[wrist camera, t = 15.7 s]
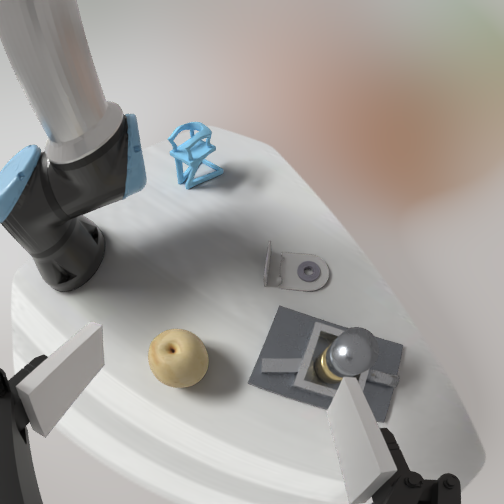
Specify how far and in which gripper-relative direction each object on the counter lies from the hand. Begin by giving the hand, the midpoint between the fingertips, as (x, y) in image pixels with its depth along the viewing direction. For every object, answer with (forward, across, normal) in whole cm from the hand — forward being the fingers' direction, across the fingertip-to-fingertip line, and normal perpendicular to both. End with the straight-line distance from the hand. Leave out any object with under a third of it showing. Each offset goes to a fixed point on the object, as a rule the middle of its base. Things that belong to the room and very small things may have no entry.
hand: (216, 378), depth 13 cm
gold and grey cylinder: (+20, +15, -10) cm, 27 cm away
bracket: (+32, +8, -2) cm, 33 cm away
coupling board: (+20, +15, -11) cm, 27 cm away
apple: (+21, -5, -15) cm, 26 cm away
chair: (+47, -13, +11) cm, 50 cm away
